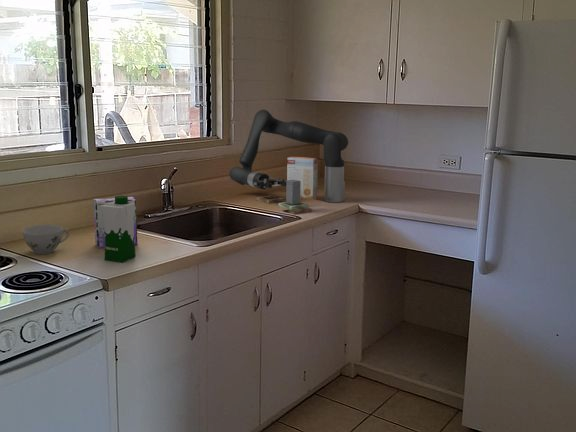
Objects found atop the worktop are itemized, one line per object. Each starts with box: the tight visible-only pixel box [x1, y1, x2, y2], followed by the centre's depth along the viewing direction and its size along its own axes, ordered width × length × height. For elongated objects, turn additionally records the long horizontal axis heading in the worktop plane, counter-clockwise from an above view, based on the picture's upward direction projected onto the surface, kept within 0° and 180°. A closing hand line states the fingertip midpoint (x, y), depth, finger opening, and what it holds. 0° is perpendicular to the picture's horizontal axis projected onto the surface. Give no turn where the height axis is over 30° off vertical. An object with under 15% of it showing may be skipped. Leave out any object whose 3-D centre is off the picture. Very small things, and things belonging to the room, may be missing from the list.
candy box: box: [93, 196, 138, 249], centre depth 213 cm, size 14×6×16 cm, turn 114°
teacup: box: [21, 224, 70, 255], centre depth 205 cm, size 15×12×8 cm
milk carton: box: [100, 195, 136, 263], centre depth 196 cm, size 9×9×20 cm
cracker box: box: [286, 156, 319, 201], centre depth 299 cm, size 14×6×21 cm, turn 65°
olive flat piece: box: [255, 195, 313, 215], centre depth 283 cm, size 10×30×3 cm, turn 38°
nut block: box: [285, 179, 301, 206], centre depth 275 cm, size 4×4×12 cm
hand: (278, 185), depth 283 cm, fingers open, 8 cm apart
